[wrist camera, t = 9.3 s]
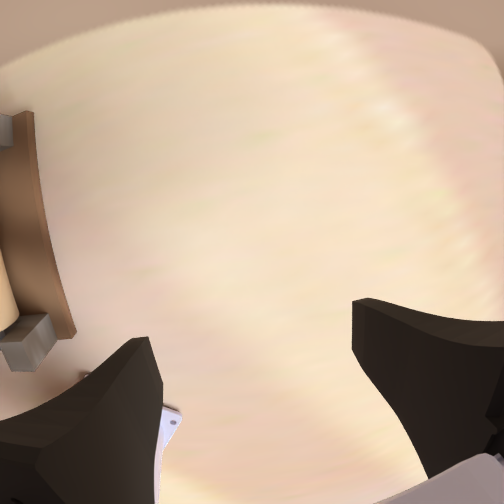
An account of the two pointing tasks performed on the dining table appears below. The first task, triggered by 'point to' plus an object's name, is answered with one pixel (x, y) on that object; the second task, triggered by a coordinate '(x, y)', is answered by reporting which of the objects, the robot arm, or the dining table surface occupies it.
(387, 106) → the dining table surface
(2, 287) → the paper roll
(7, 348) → the roll holder
